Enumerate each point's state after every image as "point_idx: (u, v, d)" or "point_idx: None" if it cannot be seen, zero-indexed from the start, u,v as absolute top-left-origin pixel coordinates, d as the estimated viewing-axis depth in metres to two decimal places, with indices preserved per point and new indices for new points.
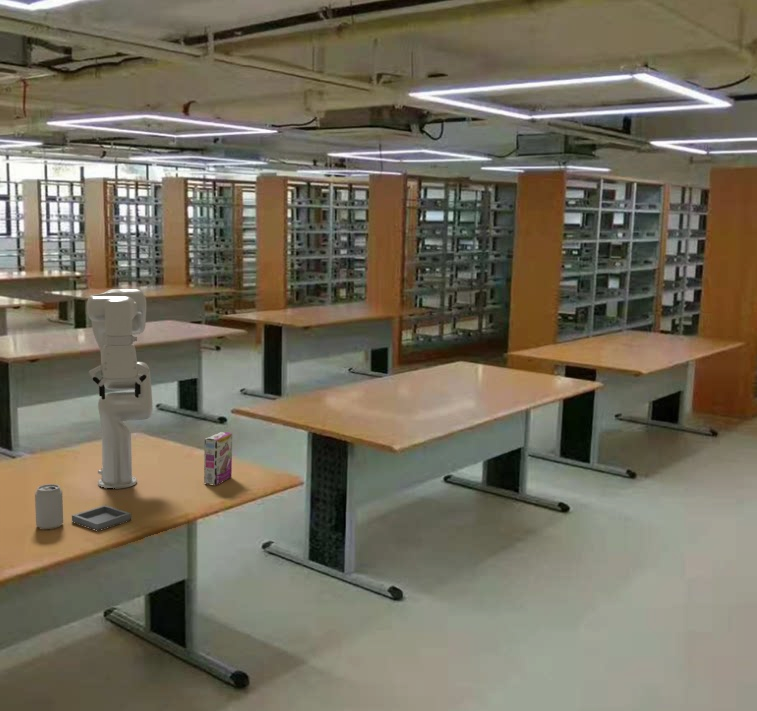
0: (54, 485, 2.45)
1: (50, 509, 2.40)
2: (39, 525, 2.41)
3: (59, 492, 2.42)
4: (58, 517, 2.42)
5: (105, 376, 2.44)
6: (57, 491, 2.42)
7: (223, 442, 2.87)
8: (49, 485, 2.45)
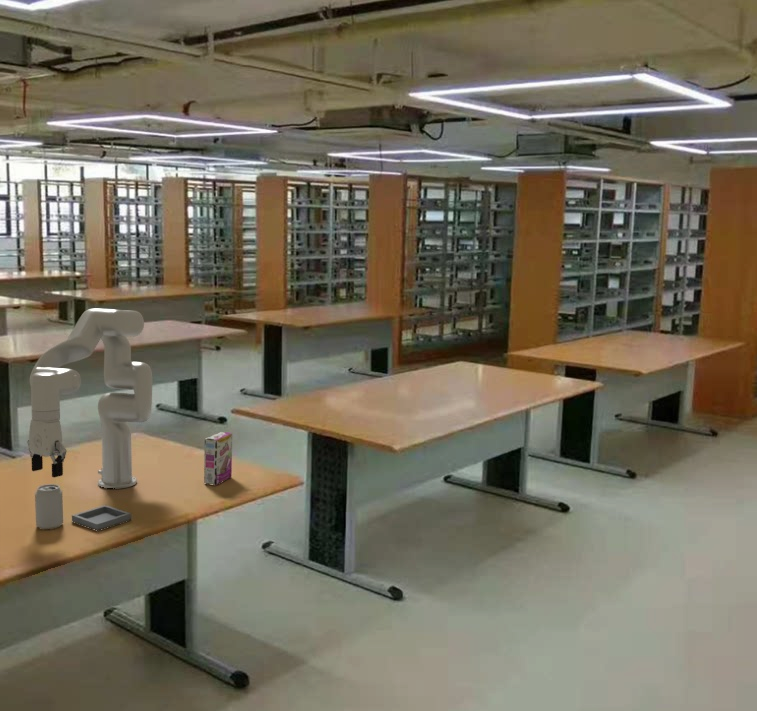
0: (54, 485, 2.45)
1: (50, 509, 2.40)
2: (39, 525, 2.41)
3: (59, 492, 2.42)
4: (58, 517, 2.42)
5: None
6: (57, 491, 2.42)
7: (223, 442, 2.87)
8: (49, 485, 2.45)
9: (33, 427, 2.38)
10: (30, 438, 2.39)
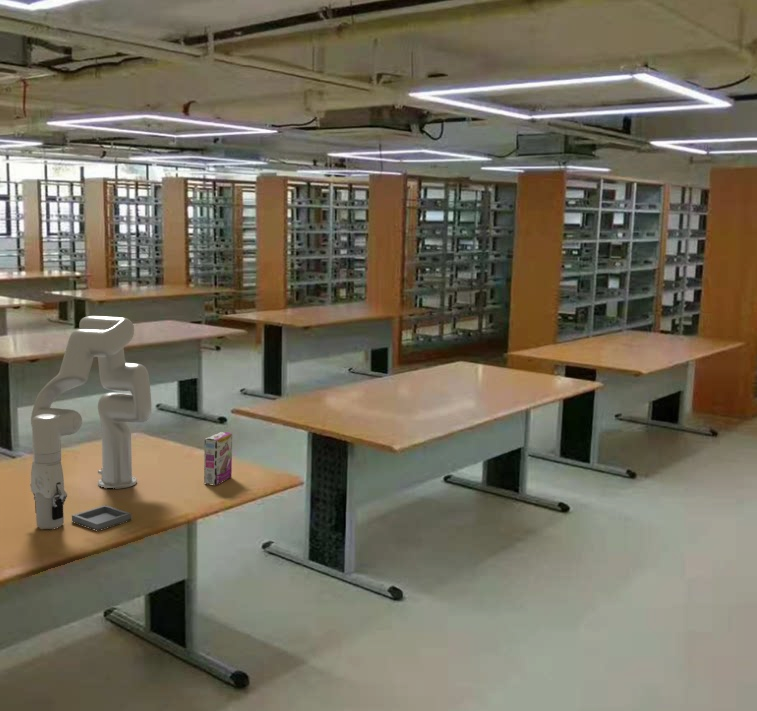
0: None
1: (50, 509, 2.40)
2: (39, 525, 2.41)
3: None
4: None
5: None
6: None
7: (223, 442, 2.87)
8: None
9: (35, 469, 2.40)
10: (32, 479, 2.42)
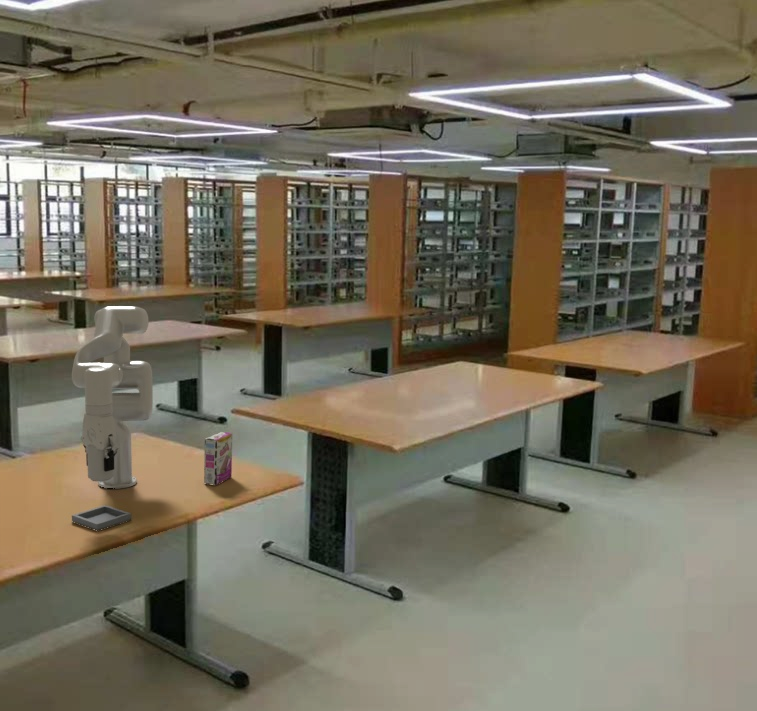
0: None
1: (102, 461, 2.43)
2: (91, 477, 2.44)
3: None
4: (110, 470, 2.45)
5: None
6: None
7: (223, 442, 2.87)
8: None
9: (87, 421, 2.43)
10: (84, 431, 2.45)
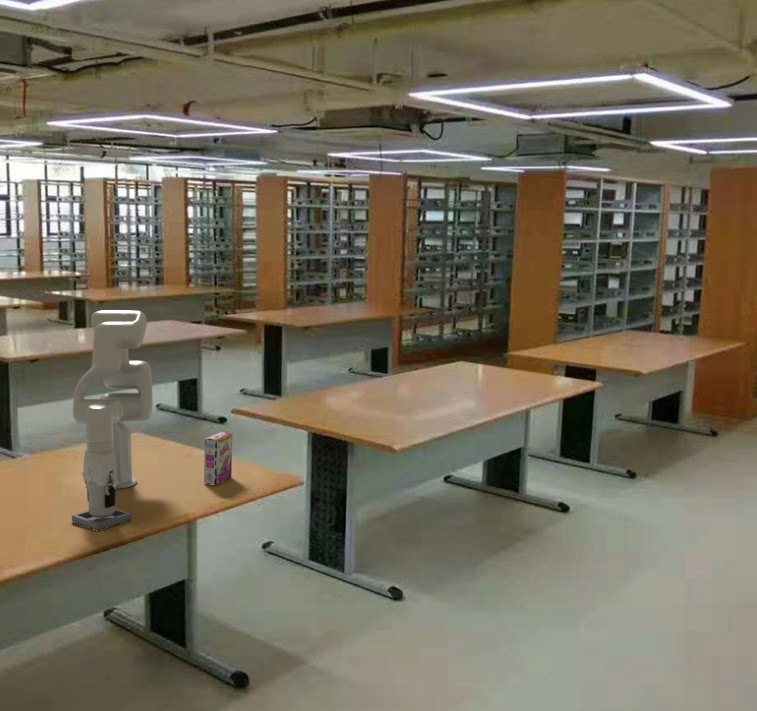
0: None
1: (103, 498, 2.45)
2: (92, 513, 2.46)
3: None
4: None
5: None
6: None
7: (223, 442, 2.87)
8: None
9: (88, 458, 2.45)
10: (85, 468, 2.46)
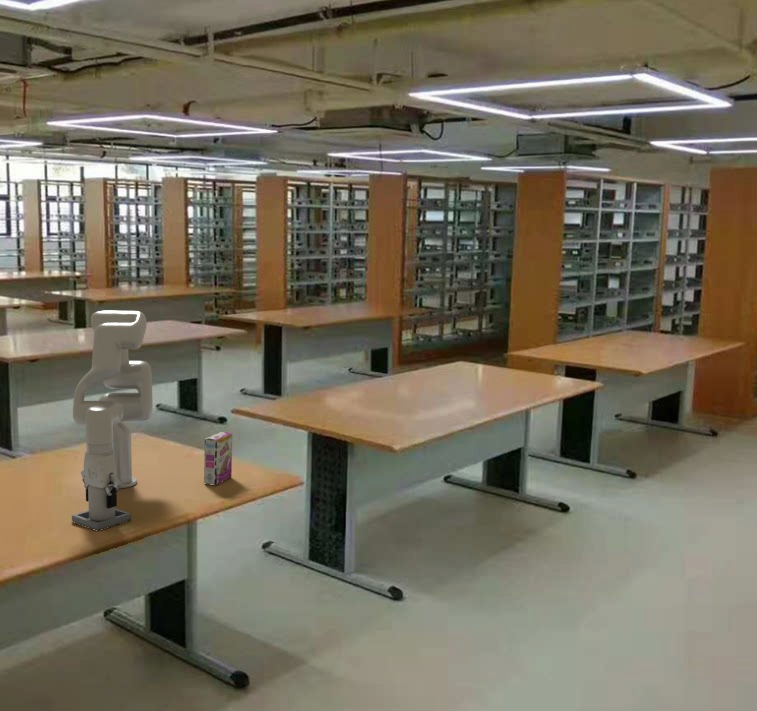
0: None
1: (103, 502, 2.45)
2: (92, 518, 2.46)
3: None
4: (110, 510, 2.47)
5: None
6: None
7: (223, 442, 2.87)
8: None
9: (88, 460, 2.45)
10: (85, 470, 2.47)
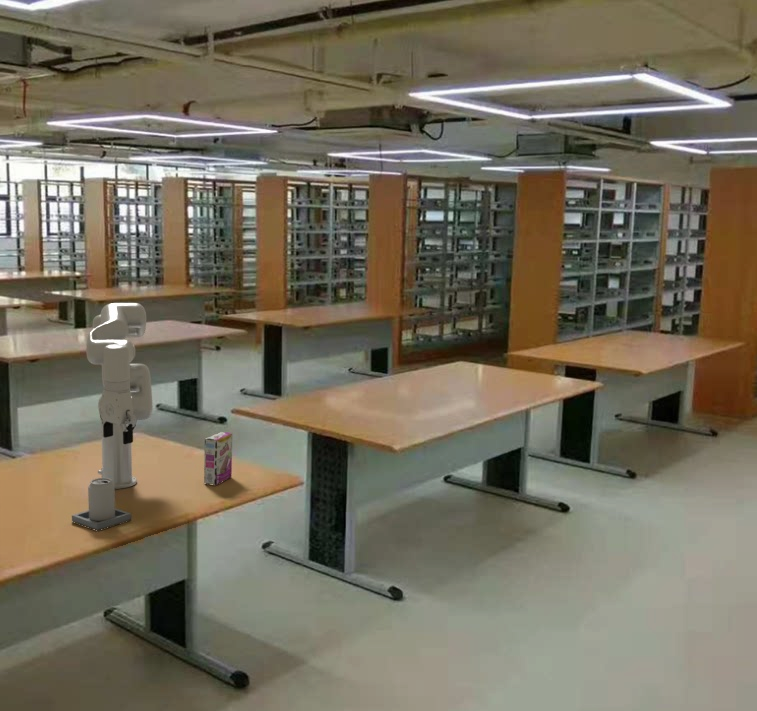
0: (106, 479, 2.50)
1: (103, 502, 2.45)
2: (92, 518, 2.46)
3: (111, 486, 2.47)
4: (110, 510, 2.47)
5: None
6: (110, 485, 2.47)
7: (223, 442, 2.87)
8: (101, 479, 2.50)
9: (105, 396, 2.51)
10: (103, 406, 2.52)
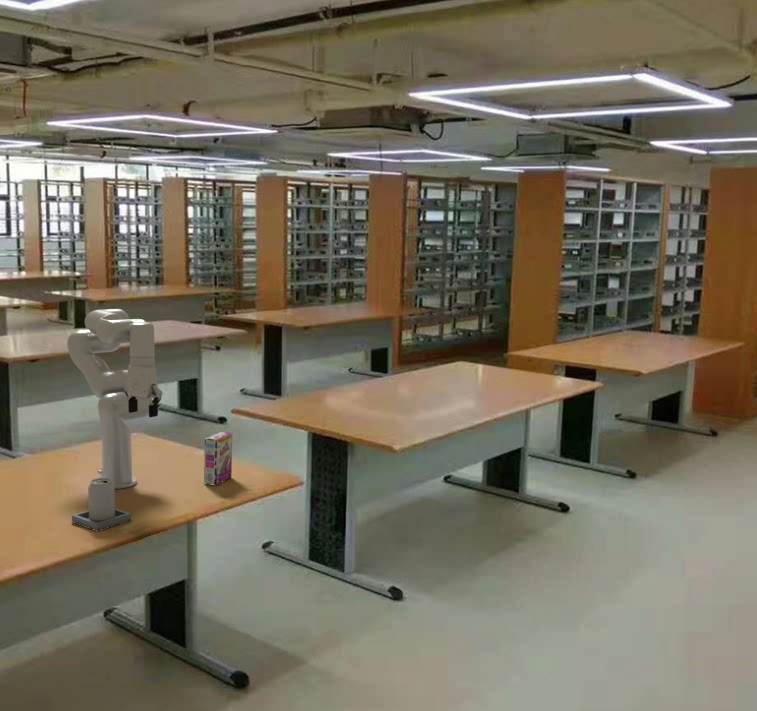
0: (106, 479, 2.50)
1: (103, 502, 2.45)
2: (92, 518, 2.46)
3: (111, 486, 2.47)
4: (110, 510, 2.47)
5: None
6: (110, 485, 2.47)
7: (223, 442, 2.87)
8: (101, 479, 2.50)
9: (131, 372, 2.62)
10: (128, 382, 2.63)
